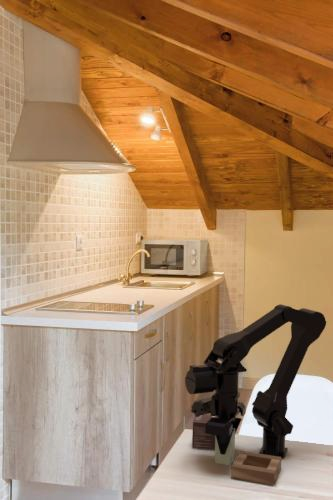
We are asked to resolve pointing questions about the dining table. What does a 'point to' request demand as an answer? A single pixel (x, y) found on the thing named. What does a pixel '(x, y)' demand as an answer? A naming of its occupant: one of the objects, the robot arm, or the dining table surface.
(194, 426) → the box
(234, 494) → the dining table surface
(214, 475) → the dining table surface
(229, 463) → the peg
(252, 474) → the socket block
